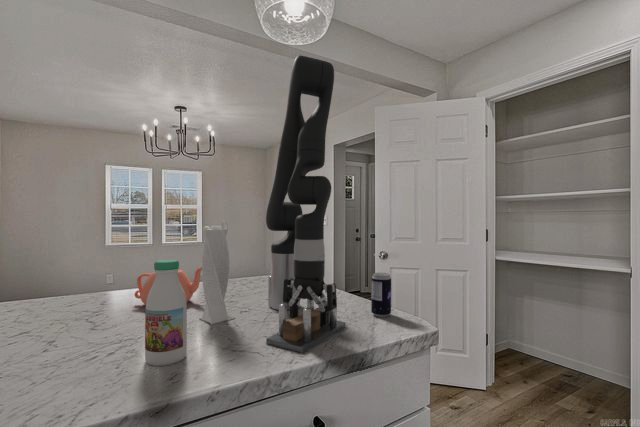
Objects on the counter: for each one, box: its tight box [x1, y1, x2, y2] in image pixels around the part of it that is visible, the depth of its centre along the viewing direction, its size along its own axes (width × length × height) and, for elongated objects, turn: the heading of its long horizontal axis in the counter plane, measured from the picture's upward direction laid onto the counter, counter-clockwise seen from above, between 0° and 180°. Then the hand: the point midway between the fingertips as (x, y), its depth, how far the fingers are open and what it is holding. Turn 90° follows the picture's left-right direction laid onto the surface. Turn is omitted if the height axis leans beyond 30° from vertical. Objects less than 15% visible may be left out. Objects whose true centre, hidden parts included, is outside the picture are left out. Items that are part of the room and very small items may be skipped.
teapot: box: [134, 266, 202, 306], centre depth 112 cm, size 22×16×12 cm
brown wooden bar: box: [283, 306, 330, 341], centre depth 84 cm, size 16×4×4 cm, turn 149°
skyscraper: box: [199, 219, 236, 326], centre depth 95 cm, size 8×8×28 cm
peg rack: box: [265, 299, 347, 354], centre depth 84 cm, size 10×20×8 cm, turn 149°
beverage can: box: [370, 272, 392, 318], centre depth 101 cm, size 6×6×12 cm
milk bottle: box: [144, 259, 188, 367], centre depth 70 cm, size 8×8×20 cm
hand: (308, 323), depth 84 cm, fingers open, 8 cm apart
